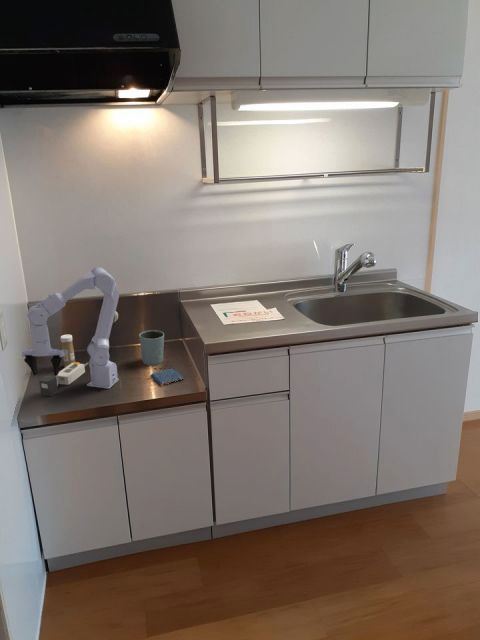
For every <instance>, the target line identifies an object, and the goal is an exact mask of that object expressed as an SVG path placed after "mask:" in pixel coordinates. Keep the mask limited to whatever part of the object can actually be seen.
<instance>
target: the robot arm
mask: <svg viewBox="0 0 480 640" xmlns="http://www.w3.org/2000/svg"><path fill="white" fill-rule="evenodd" d="M117 286H118V285H117V283H116V280H115V278H114V277H113V276H112V275H111V274H110V273H108V271H107V270H106V269H105V268H103V267H101V266H99V267H98V266H97V267H94V268H93V269H91V270H90V271H87V272H86V273H84V274H83V276H81V277H80V278H79V279H77V280H76V281H75V282H73V283H72V284H71V285H70V286H68V287H67V288H66V289H64V290H62V292H54V293H53V294H52V293H49V294H48V297H46V298H45V299H44V300H42V301H41V302H37V303H36V305H32V306H30V307H29V308H28V310H27V314H26V316H27V318H28V319H29V326H30V335H31V340H32V348H33V349H32V348H31V349H30V348H29V349H23V350H22V351H21V356H22V358H24V357H25V358H24V363H26V364H27V366H28V367H29V368H30V370H31V372H32V374H33V376H37V375H38V373H39V370H38V369H39V368H38V363H37V358H38V357H51V359H50V362H51V364H52V368H53V376H57V375H58V374H59V372H60V365H61V361H62V360H63V356H64V350H62V349H57V348H53V347H52V346H51V340H50V338H51V337H50V332H49V326H48V325H47V322H48V318H50V317H51V316H54V315H55V314H56V313H58V312H59V311H60V310H62V308H65V307H66V302H67V301H68V300H70V299H72V298H74V297H75V296H76V295H79V294H80V293H82V292H84V291H85V290H96V288H98V289H99V290H100V291H101V293H102V294H103V295H104V296H103V300H102V305H101V308H100V312H99V317H98V321H97V325H96V329H95V333H94V335H93V336H92V338H91V341H90V342H89V344H88V346H87V348H86V351H87V354H88V355H89V361H88V363H89V364H88V366H89V371H90V372H89V373H90V381H89V382H88V383H86V386H87V387H92V388H100V389H109V390H110V389H111V387H112V386H114V385H115V384H116V383H118V381H120V378H119V377H118V376H119V375H118V367H117V363H115V362H113V361H111V360H110V353H109V350H110V341H109V338H110V335H111V331H112V326H113V323H114V322H113V321H114V320H115V315H116V311H117V307H118V303H119V299H120V292H119V288H118V287H117Z"/></svg>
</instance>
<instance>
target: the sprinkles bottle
mask: <svg viewBox="0 0 480 640" xmlns="http://www.w3.org/2000/svg"><path fill="white" fill-rule="evenodd" d="M60 342H61V350H64V356H63V357H62V360H63V363H64V365H63V367H64V368H65V367H67V366H68V365H70V364H71V363H75V362H76V358H75V351H74V343H73V335H72V334H63V335H61V336H60Z"/></svg>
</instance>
